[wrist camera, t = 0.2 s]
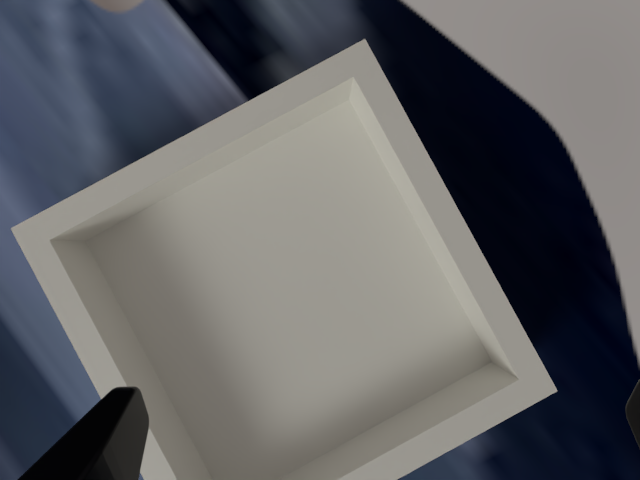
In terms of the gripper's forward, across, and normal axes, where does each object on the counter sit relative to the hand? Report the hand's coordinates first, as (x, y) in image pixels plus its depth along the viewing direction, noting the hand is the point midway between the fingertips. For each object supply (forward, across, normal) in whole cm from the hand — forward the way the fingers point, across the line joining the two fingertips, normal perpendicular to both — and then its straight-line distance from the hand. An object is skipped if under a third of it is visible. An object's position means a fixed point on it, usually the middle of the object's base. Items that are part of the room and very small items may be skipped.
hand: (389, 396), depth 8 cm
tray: (+12, +3, +8) cm, 15 cm away
